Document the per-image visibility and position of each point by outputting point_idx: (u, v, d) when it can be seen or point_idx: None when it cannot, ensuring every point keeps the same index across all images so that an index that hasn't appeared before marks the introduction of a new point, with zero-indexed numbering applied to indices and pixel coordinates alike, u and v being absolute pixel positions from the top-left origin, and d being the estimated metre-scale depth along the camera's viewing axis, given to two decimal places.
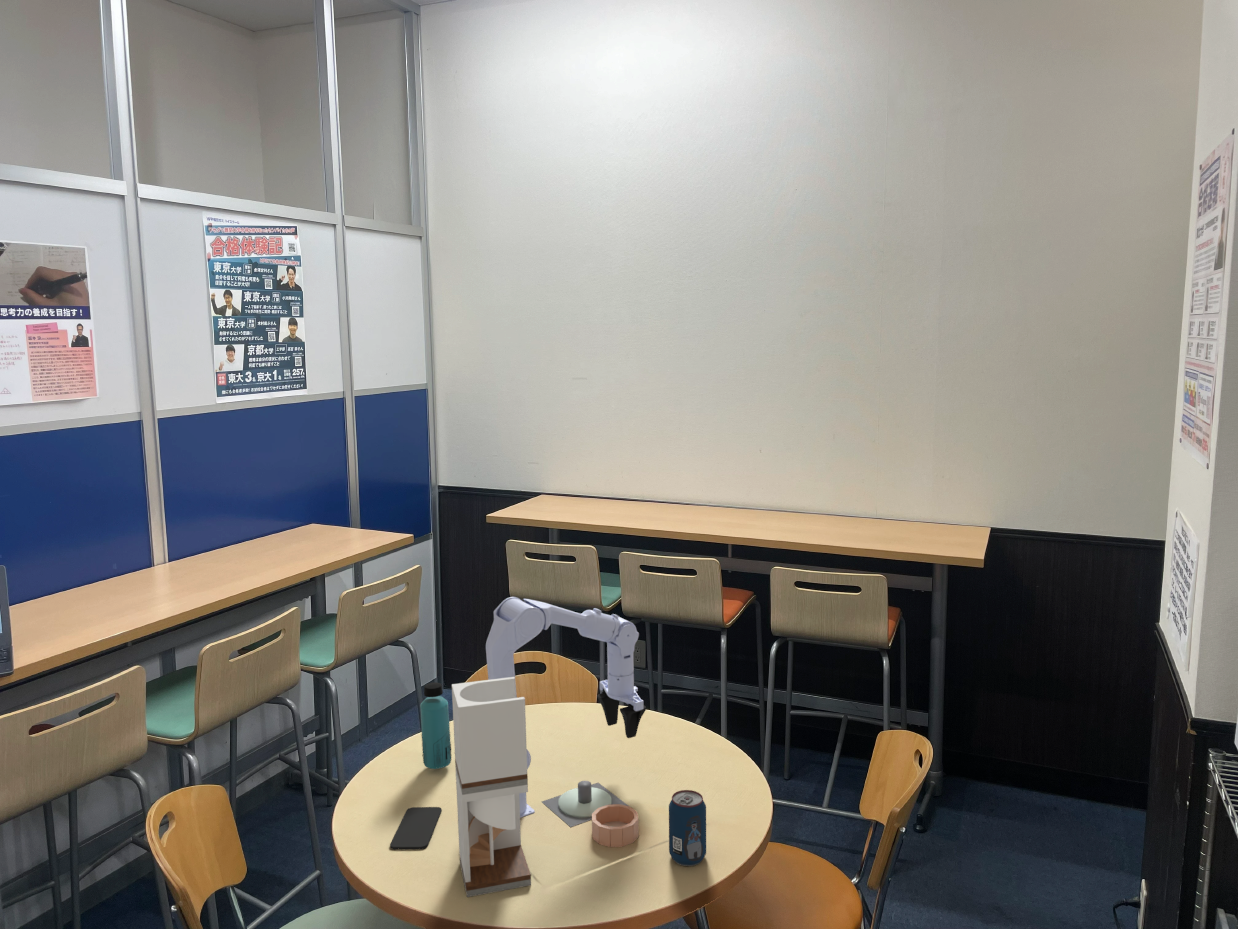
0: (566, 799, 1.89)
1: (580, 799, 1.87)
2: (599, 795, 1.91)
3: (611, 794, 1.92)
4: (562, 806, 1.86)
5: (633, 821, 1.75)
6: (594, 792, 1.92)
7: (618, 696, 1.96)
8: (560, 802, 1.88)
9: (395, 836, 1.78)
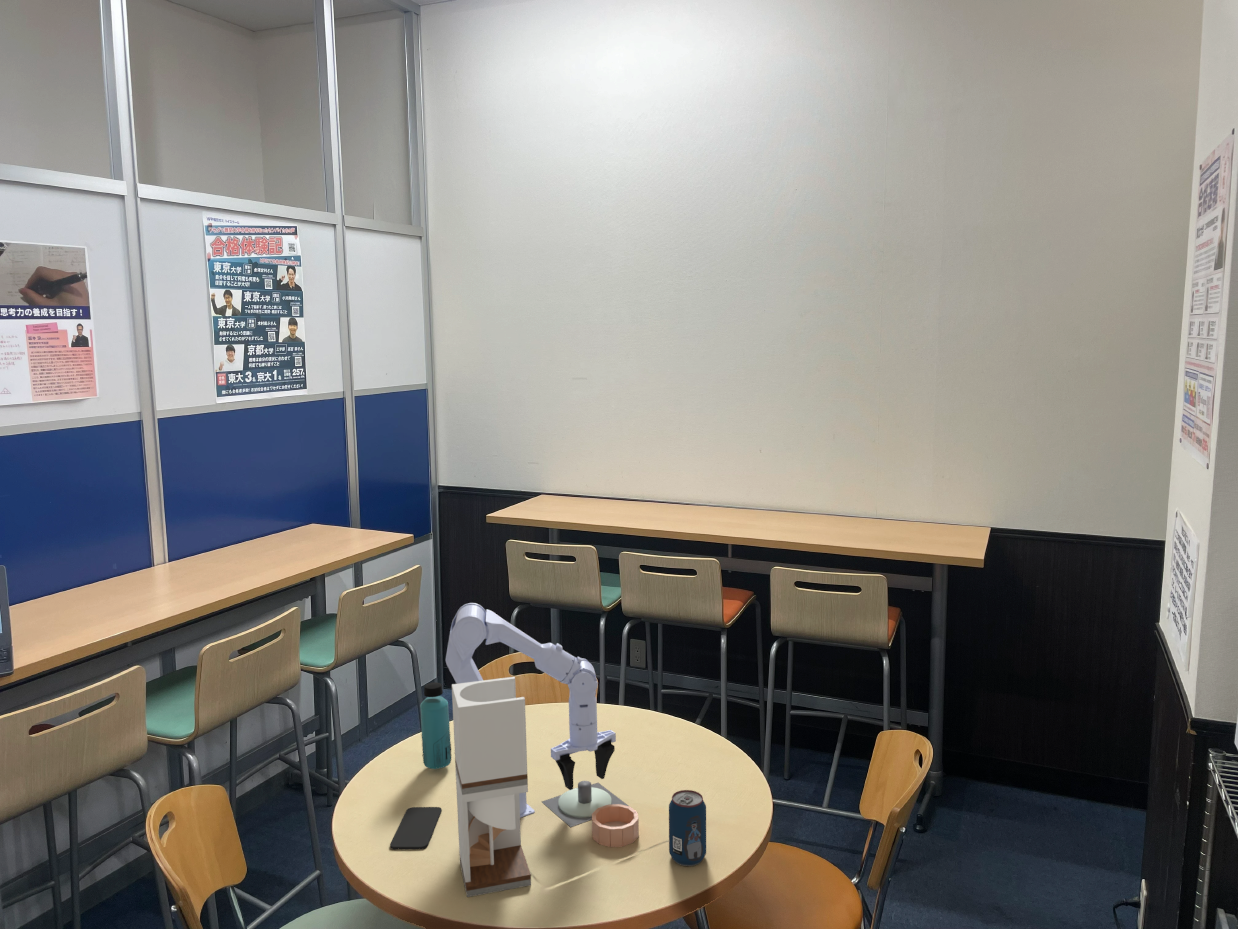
0: (566, 799, 1.89)
1: (580, 799, 1.87)
2: (599, 795, 1.91)
3: (611, 794, 1.92)
4: (562, 806, 1.86)
5: (633, 821, 1.75)
6: (594, 792, 1.92)
7: (568, 739, 1.87)
8: (560, 802, 1.88)
9: (395, 836, 1.78)
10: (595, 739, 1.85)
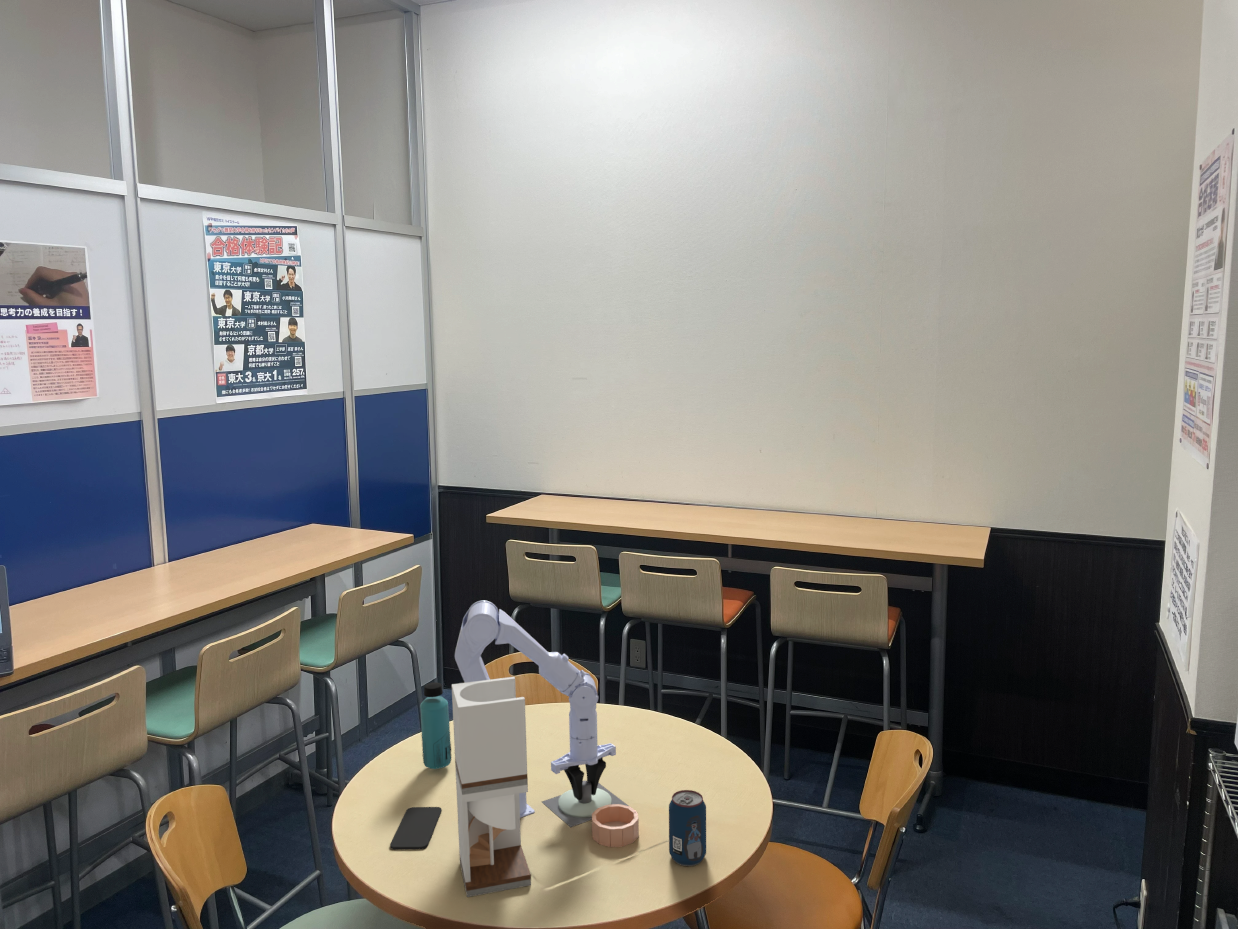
0: (566, 799, 1.89)
1: None
2: (599, 795, 1.91)
3: (611, 794, 1.92)
4: (562, 806, 1.86)
5: (633, 821, 1.75)
6: None
7: (569, 752, 1.88)
8: (560, 802, 1.88)
9: (395, 836, 1.78)
10: (595, 753, 1.86)
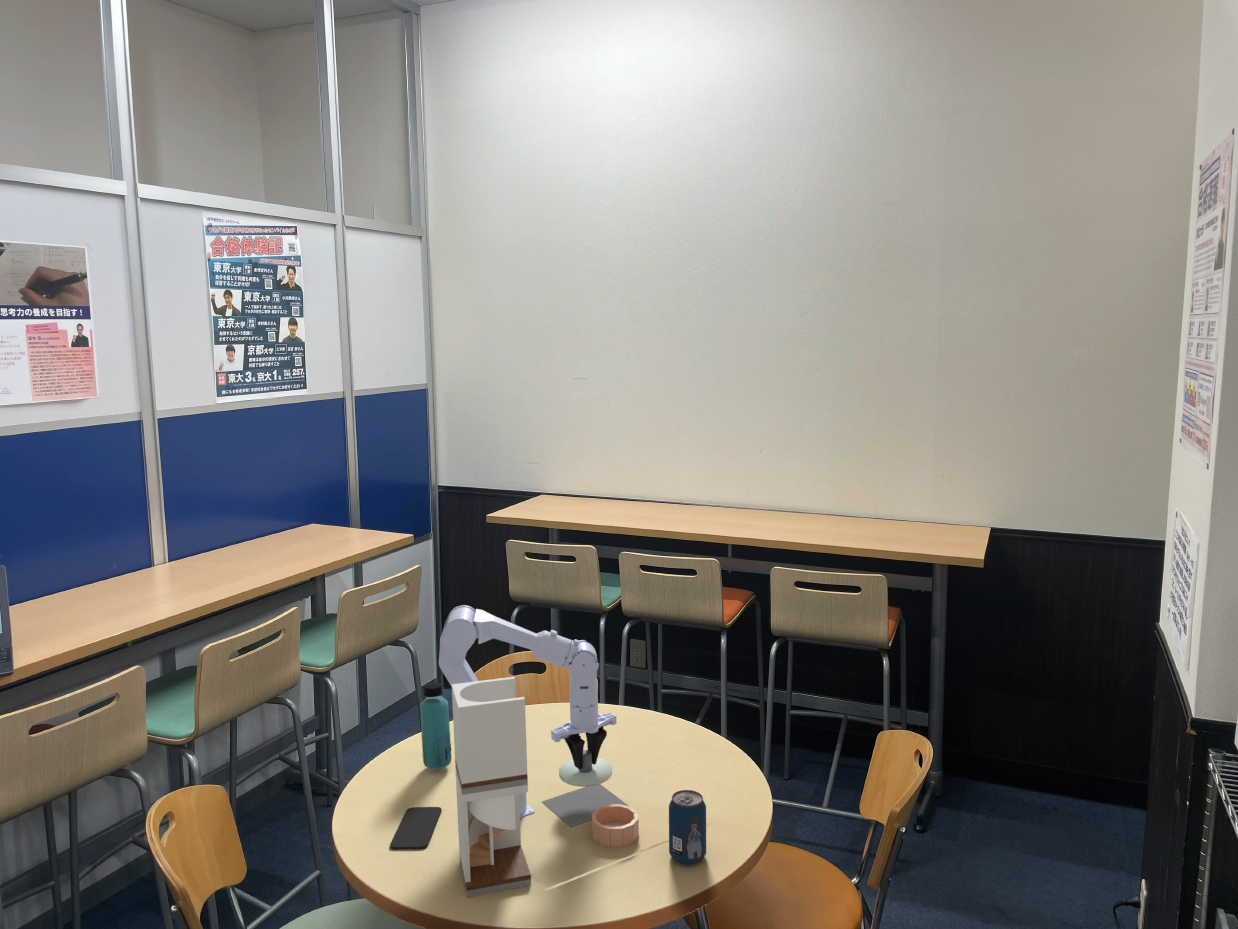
0: (566, 769, 1.88)
1: None
2: (600, 764, 1.89)
3: (611, 794, 1.92)
4: (563, 775, 1.85)
5: (633, 821, 1.75)
6: None
7: (569, 721, 1.86)
8: (560, 771, 1.86)
9: (395, 836, 1.78)
10: (596, 721, 1.84)
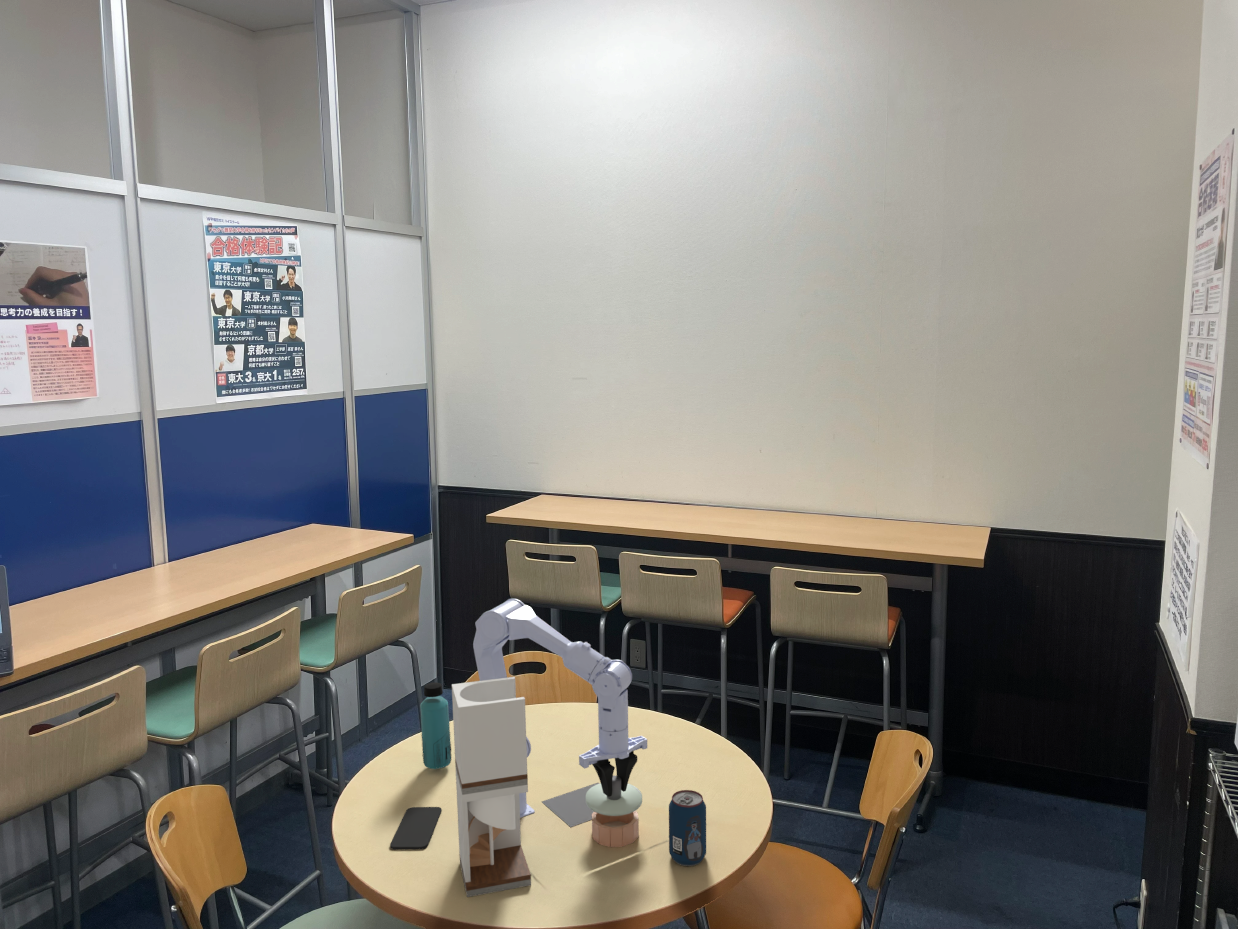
0: (594, 794, 1.77)
1: None
2: (629, 791, 1.78)
3: None
4: (590, 802, 1.74)
5: (633, 821, 1.75)
6: None
7: (597, 745, 1.75)
8: (587, 798, 1.76)
9: (395, 836, 1.78)
10: (626, 746, 1.73)
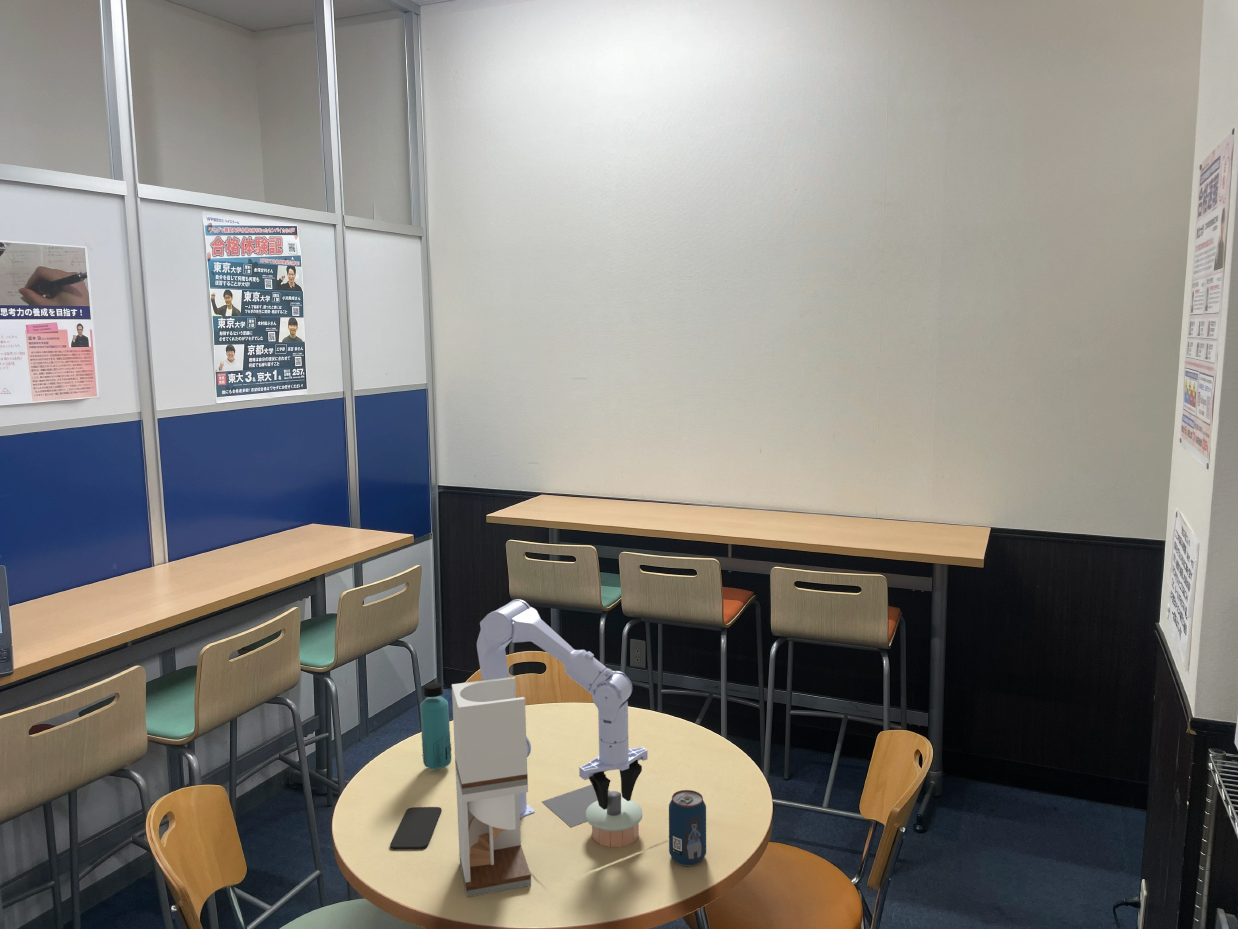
0: (594, 810, 1.78)
1: (609, 811, 1.76)
2: (629, 806, 1.79)
3: None
4: (590, 818, 1.75)
5: None
6: (623, 803, 1.80)
7: (598, 757, 1.76)
8: (588, 814, 1.76)
9: (395, 836, 1.78)
10: (626, 757, 1.74)
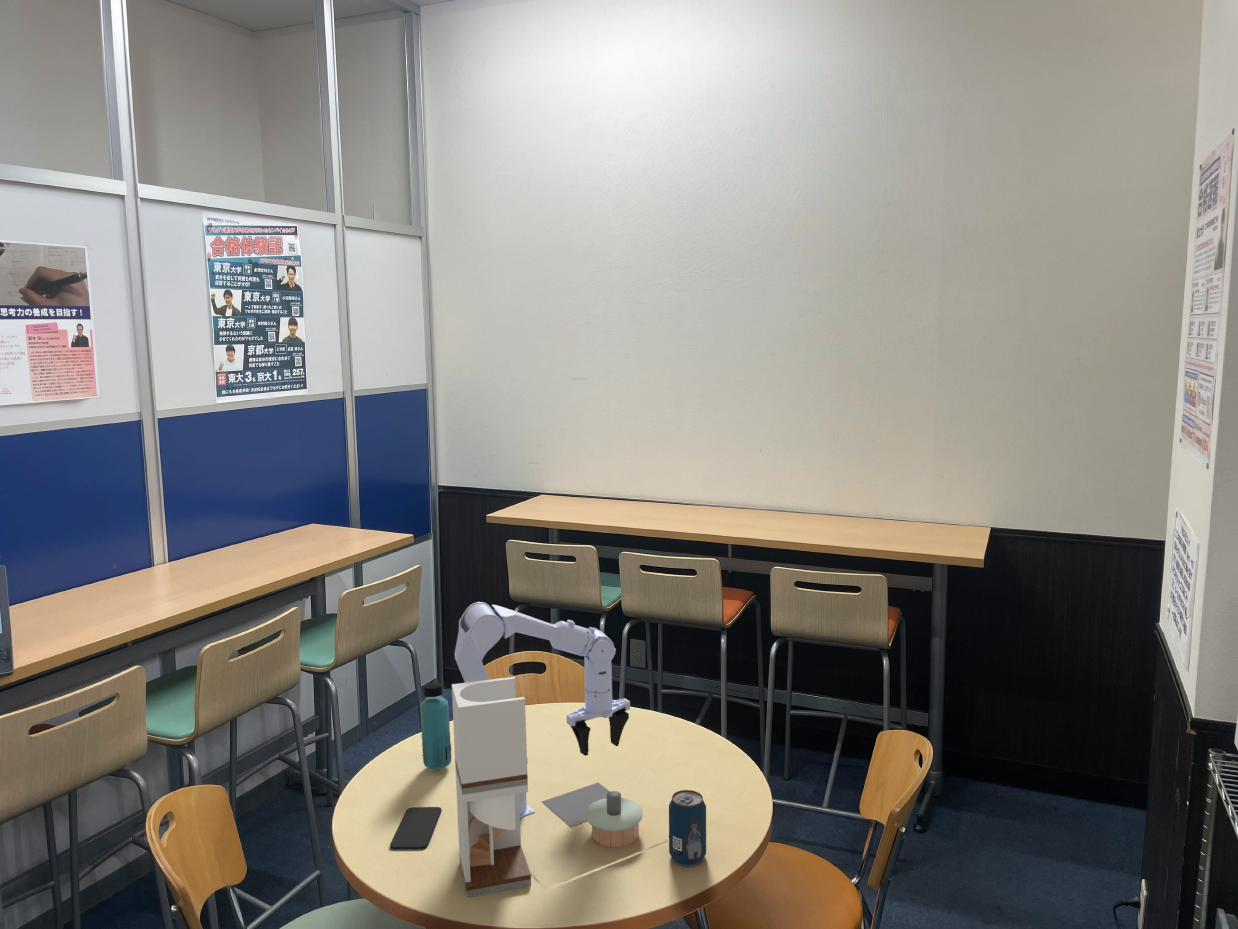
0: (594, 810, 1.78)
1: (609, 811, 1.76)
2: (629, 806, 1.79)
3: None
4: (590, 818, 1.75)
5: None
6: (623, 803, 1.80)
7: (584, 706, 1.92)
8: (588, 814, 1.76)
9: (395, 836, 1.78)
10: (610, 706, 1.90)
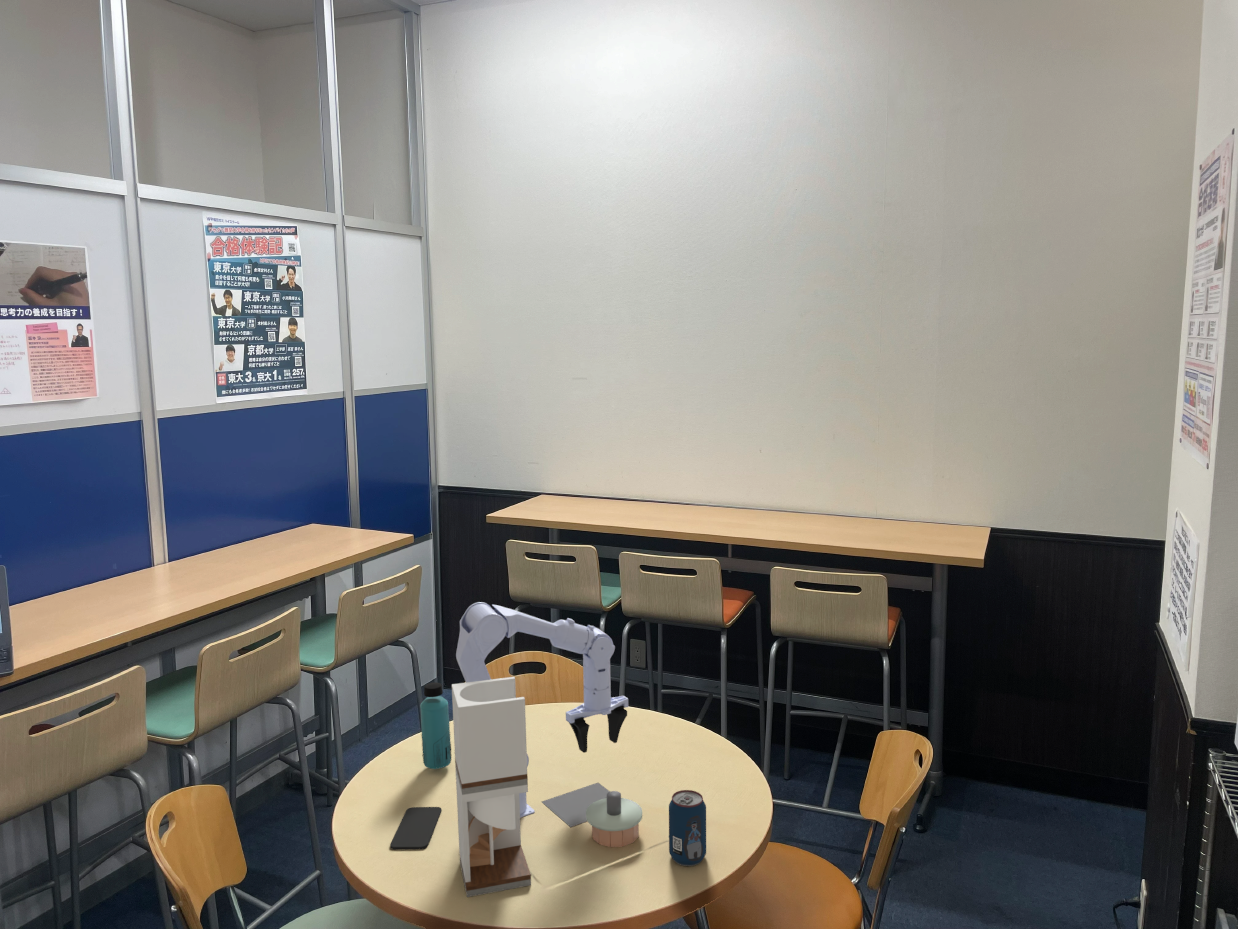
0: (594, 810, 1.78)
1: (609, 811, 1.76)
2: (629, 806, 1.79)
3: None
4: (590, 818, 1.75)
5: None
6: (623, 803, 1.80)
7: (583, 704, 1.93)
8: (588, 814, 1.76)
9: (395, 836, 1.78)
10: (609, 703, 1.91)
